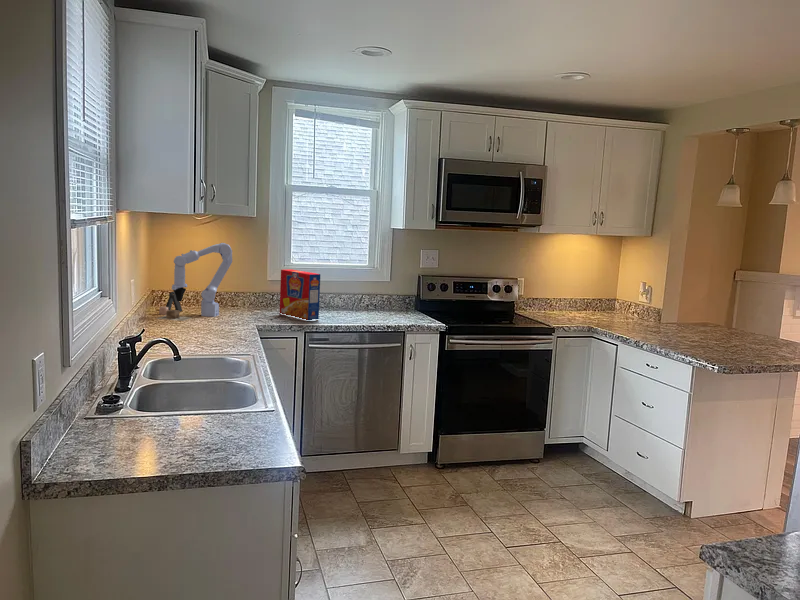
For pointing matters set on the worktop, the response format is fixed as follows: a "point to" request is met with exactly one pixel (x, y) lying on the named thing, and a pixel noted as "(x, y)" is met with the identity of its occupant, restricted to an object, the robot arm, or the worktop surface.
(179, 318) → the letter board
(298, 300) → the pasta box
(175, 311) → the walnut block
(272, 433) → the worktop surface
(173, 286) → the robot arm
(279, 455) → the worktop surface
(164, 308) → the terracotta cylinder
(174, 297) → the phone stand
